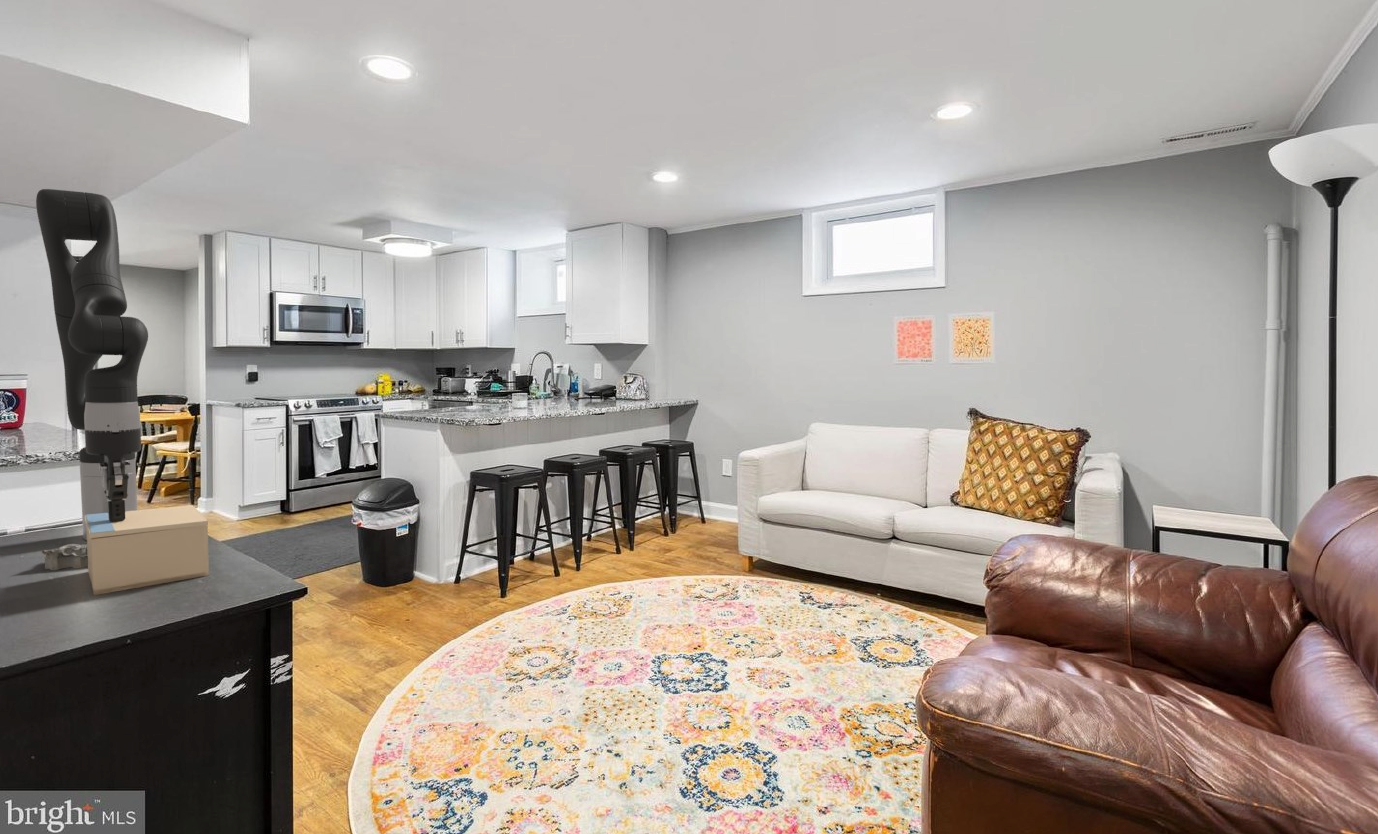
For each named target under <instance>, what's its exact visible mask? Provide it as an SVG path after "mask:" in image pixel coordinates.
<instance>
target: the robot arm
mask: <svg viewBox="0 0 1378 834" xmlns="http://www.w3.org/2000/svg"><path fill="white" fill-rule="evenodd" d="M35 201H36V202H35V204H36V205H35V206H36V214H37V218H38V223H39V227H40V232H41V236H42V240H43V244H44V245H43V246H44V249H45V253H46V258H47V264H48V268H49V275H50V282H51V289H52V300H53V308H54V309H53V310H54V317H55V323H56V328H57V333H58V338H59V342H60V343H59V344H60V348H61V353H62V360H63V367H64V381H65V396H66V408H67V416H68V420H69V423H70V425H71V426H72V428H73V429H76V430H78V431H79V430H81V431H84V439H85V445H84V447H82V448H81V449H80V450H79V454H78V456H79V474H80V493H81V496H80V497H81V512H82V513H81V514H82V515H81V519H82V539H83V540H84V541H87V531H86V523H85V520H84V515H88V514H98V513H108V518H109V521H111V522H117V521H123V520H125V511H135V510H138V490H137V489H138V488H137V469H136V465H137V464H136V453H138V452H140V451H141V450H142V434H141V431H142V430H141V413H140V408H139V401H138V400H139V399H138V397H139V396H138V377H139V369H140V365H141V361H142V359H143V356H144V353H145V350H146V347H147V344H148V340H149V331H148V328H147V327H146V325H145V323H144V322H143V321H141V320H140V319H139V318H136V317H132V316H123V315H124V314H125V313H126V311H127V309H128V302H127V298H126V294H125V289H124V286H123V282H122V277H121V269H120V245H119V244H120V243H119V236H118V235H119V233H118V225H117V217H116V212H115V209H114V206H113V204H112V202H111V201H110V199H109V198H108V197H107V196H105V195H104V194H99V193H93V192H84V191H76V190H75V191H73V190H66V189H65V190H63V189H52V188H42V189H40V190H38V192H37V193H36V199H35ZM67 240H73V241H85V242H86V241H90V242H91V241H92V242H95V244H94V245H93V246H92V248H91V249H90V250H89V251H88V252H86V253H85V255H83V256H82V258H80V259H79V260H78V261H77V260H76V259H75V257H73V255H72V253H71V252H70V250H69V248H68V247H67V244H66V241H67ZM103 356H121V358H120V361H119V362H117V363H116V364H115V365H111V366H106V367H99V368H94V367H95V366H96V364H98V361H100V359H101V358H102V357H103Z"/></svg>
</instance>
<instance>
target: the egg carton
mask: <svg viewBox="0 0 1378 834" xmlns="http://www.w3.org/2000/svg"><path fill="white" fill-rule="evenodd" d="M41 554H43V555H44V556H45V557H44V569H45V570H51V571H56V570H59V569H64V568H74V569H78V568H84V567H88V553H87V543H86V544H76V543H68V544H64V545H62V546H60V547H57V548H55V549H53V550H45V549H44V550H42V552H41Z"/></svg>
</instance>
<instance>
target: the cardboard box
mask: <svg viewBox="0 0 1378 834" xmlns="http://www.w3.org/2000/svg"><path fill="white" fill-rule="evenodd" d="M208 530H209V529H208V525H202V526H194V527H185V528H176V529H167V530H159V531H150V532H141V533H133V534H124V535H115V536H106V537H98V538H90V537H89V534H88V530H87V527H86V531H87V540H86V544H87V553H88V566H87V569H88V570H87V571H88V576H89V580H90V584H91V589H92V593H93V596H96V595H97V596H98V595H103V594H109V593H113V592H115V593H116V592H119V591H126V590H127V591H128V590H131V589H137V588H144V587H149V586H154V585H161V584H166V583H173V582H178V581H183V580H190V579H195V578H197V579H198V578H201V577H209V576H210V568H209V567H210V566H209V565H210V562H209V561H210V559H209V558H210V557H209V532H208Z"/></svg>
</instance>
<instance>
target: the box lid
mask: <svg viewBox="0 0 1378 834" xmlns="http://www.w3.org/2000/svg"><path fill="white" fill-rule="evenodd" d="M84 520H85V523H86V527H87V530H88V534H89V537H90V538H98V537H106V536H115V535H124V534H133V533H141V532H150V531H159V530H167V529H176V528H185V527H194V526H202V525H208V522H209V521H208V519H207V518H205V516H204V515H203V514H202V513H201V512H200V511H199V510H198V509H197V508H196V507H195V506H194V505H193V504H191V505H189V504H188V505H177V506H169V507H167V506H166V507H157V508H147V509H137V510H135V511H125V520H123V521H117V522H111V521H109V518H108V513H98V514H88V515H84Z"/></svg>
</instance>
